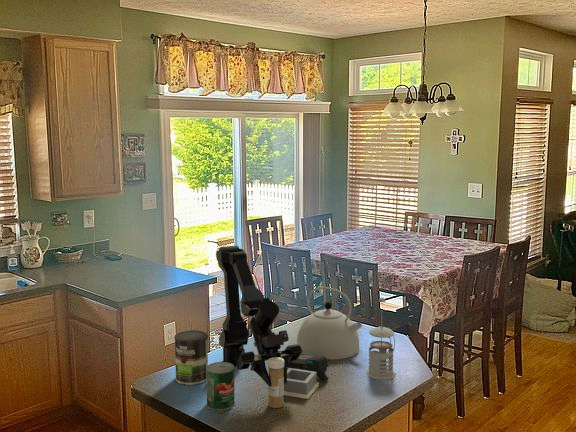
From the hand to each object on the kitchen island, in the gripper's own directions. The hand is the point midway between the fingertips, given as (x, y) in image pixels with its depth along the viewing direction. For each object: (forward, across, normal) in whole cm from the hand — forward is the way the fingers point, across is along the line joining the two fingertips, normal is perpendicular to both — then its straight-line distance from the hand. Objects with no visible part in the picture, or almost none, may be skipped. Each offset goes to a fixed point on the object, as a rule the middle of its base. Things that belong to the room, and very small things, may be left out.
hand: (278, 384), depth 162 cm
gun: (-9, +17, +19) cm, 27 cm away
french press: (-1, +40, +11) cm, 42 cm away
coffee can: (-16, -16, +26) cm, 35 cm away
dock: (-1, +10, +10) cm, 15 cm away
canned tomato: (-1, -14, +11) cm, 18 cm away
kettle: (-20, +36, +30) cm, 51 cm away
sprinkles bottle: (+4, 0, +6) cm, 7 cm away
